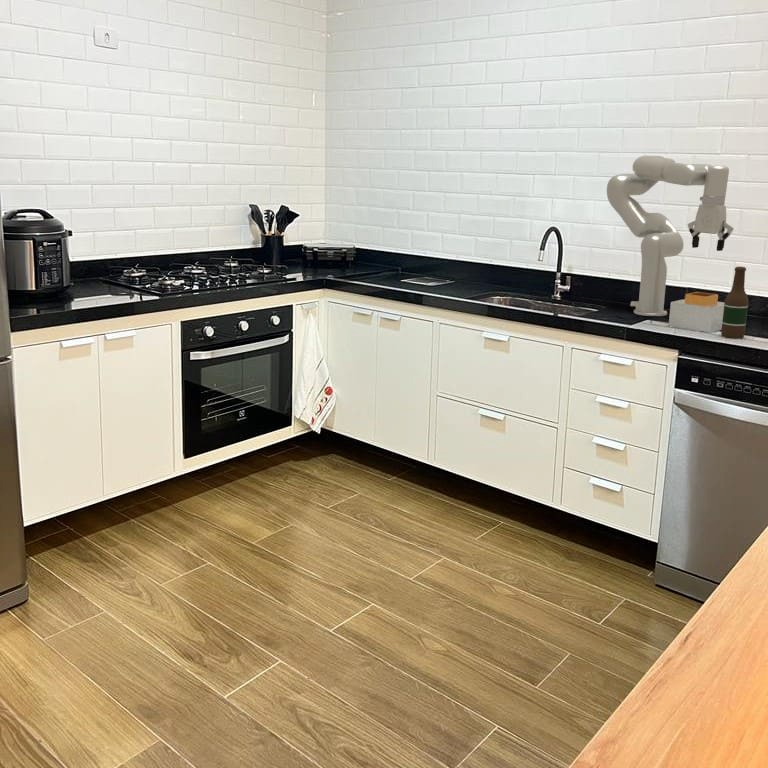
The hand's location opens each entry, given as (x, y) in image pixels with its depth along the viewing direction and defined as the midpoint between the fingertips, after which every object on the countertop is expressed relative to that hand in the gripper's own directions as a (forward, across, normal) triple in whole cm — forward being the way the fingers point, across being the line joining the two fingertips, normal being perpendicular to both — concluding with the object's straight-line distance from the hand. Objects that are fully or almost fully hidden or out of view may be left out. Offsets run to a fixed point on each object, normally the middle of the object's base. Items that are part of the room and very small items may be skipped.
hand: (707, 249), depth 305 cm
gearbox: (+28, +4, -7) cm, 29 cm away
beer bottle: (+27, +21, -12) cm, 36 cm away
